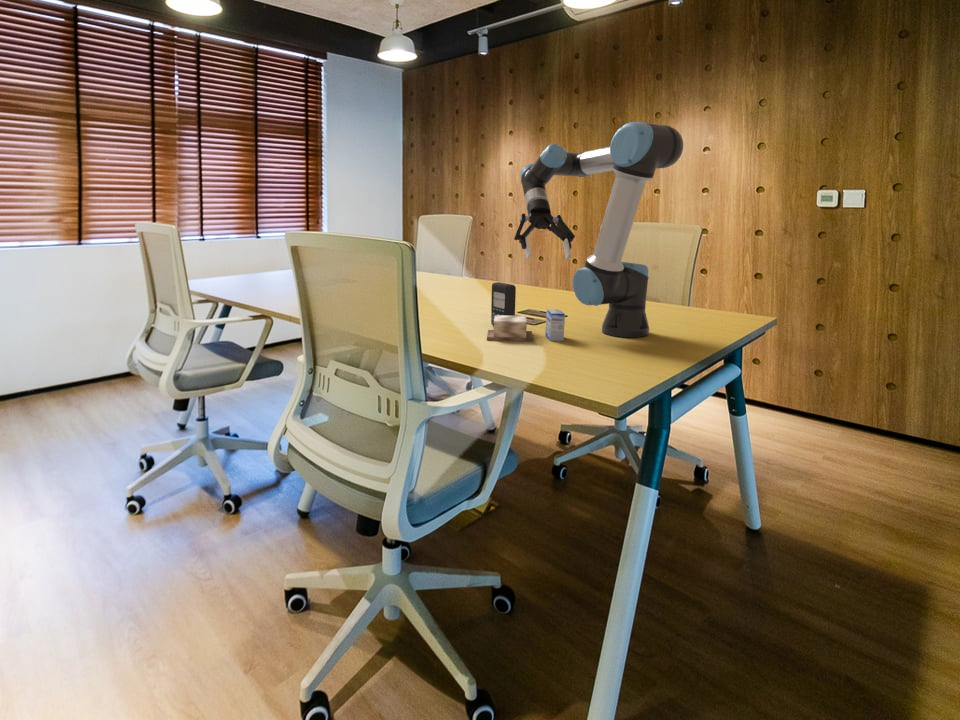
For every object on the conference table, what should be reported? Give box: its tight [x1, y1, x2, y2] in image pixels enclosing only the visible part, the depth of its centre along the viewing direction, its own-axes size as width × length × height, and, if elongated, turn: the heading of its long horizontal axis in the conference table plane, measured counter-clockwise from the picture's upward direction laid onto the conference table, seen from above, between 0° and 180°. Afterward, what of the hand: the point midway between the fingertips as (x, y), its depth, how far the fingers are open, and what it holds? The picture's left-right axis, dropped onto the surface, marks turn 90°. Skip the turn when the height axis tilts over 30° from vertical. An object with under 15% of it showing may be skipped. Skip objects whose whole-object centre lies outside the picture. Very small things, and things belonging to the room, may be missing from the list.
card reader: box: [490, 281, 517, 327], centre depth 203 cm, size 9×4×15 cm, turn 37°
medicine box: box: [544, 308, 566, 342], centre depth 189 cm, size 8×4×9 cm, turn 5°
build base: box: [486, 315, 534, 343], centre depth 190 cm, size 14×11×6 cm
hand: (548, 257), depth 194 cm, fingers open, 13 cm apart
